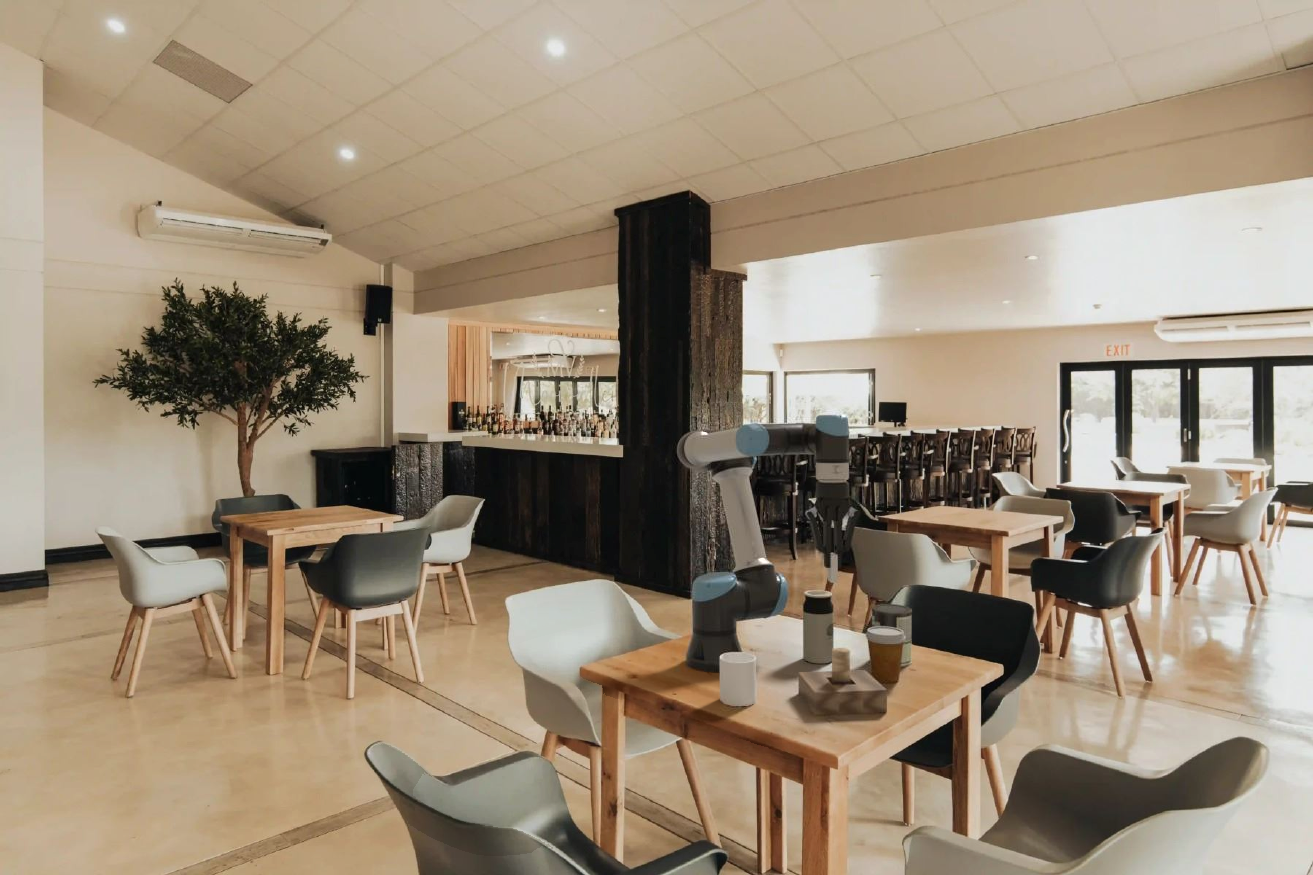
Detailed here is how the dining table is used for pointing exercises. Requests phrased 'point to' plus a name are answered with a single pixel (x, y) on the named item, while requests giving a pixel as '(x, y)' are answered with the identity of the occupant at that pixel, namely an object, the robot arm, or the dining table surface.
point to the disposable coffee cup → (885, 652)
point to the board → (842, 693)
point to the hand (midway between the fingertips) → (832, 581)
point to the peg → (840, 666)
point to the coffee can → (895, 624)
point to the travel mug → (818, 627)
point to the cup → (738, 678)
